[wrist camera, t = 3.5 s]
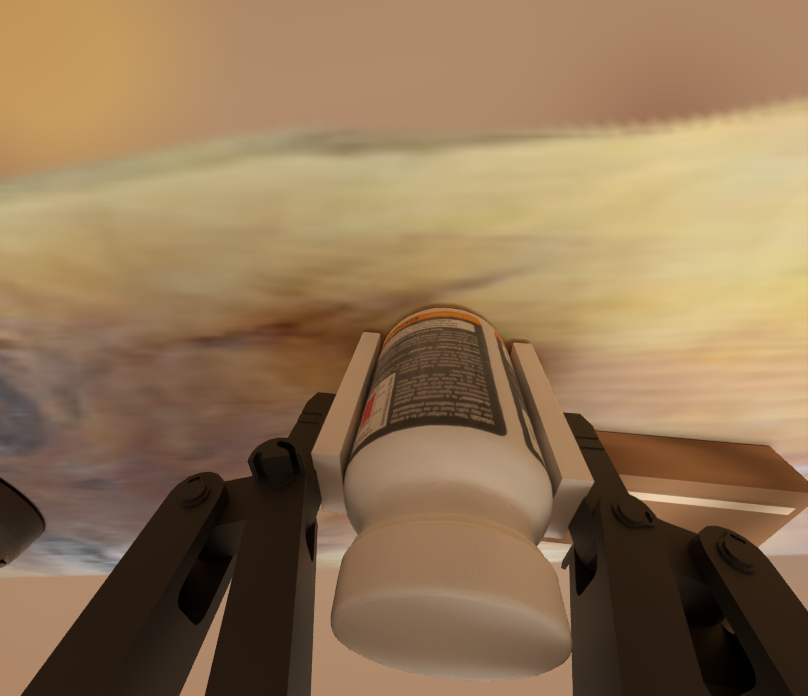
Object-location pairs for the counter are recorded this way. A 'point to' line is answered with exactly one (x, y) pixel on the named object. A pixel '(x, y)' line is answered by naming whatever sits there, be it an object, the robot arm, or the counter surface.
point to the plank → (707, 483)
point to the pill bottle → (449, 513)
